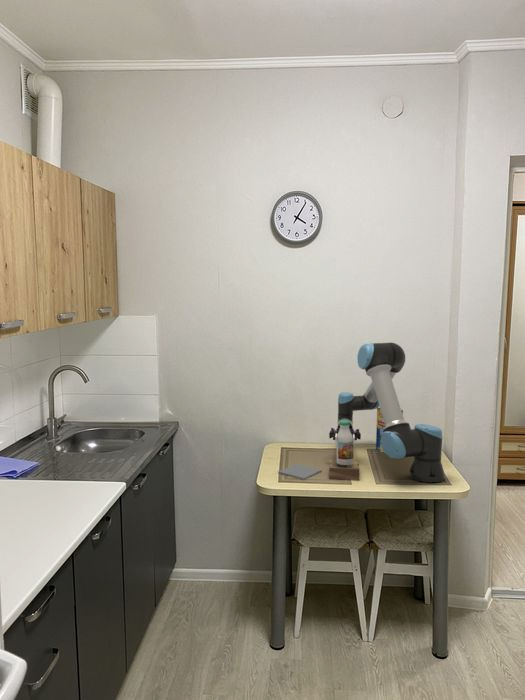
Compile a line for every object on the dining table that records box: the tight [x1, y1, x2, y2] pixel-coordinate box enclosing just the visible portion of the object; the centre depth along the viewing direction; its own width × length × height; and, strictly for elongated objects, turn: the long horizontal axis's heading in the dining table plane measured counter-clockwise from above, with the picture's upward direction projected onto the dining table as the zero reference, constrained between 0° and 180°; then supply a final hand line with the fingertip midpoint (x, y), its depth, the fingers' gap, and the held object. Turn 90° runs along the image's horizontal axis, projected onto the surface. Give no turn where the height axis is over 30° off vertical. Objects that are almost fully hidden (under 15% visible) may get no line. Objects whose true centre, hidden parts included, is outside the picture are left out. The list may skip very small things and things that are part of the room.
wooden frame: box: [328, 458, 360, 481], centre depth 257 cm, size 12×13×5 cm
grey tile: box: [277, 463, 322, 481], centre depth 261 cm, size 14×14×1 cm
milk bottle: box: [335, 420, 354, 466], centre depth 269 cm, size 8×8×20 cm
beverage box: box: [375, 407, 404, 454], centre depth 292 cm, size 7×11×22 cm, turn 38°
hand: (344, 440), depth 264 cm, fingers closed on milk bottle, 7 cm apart
